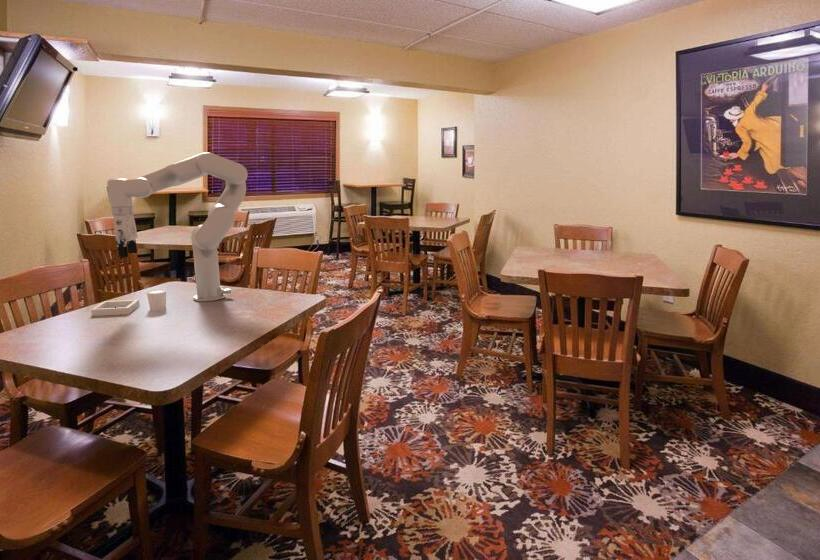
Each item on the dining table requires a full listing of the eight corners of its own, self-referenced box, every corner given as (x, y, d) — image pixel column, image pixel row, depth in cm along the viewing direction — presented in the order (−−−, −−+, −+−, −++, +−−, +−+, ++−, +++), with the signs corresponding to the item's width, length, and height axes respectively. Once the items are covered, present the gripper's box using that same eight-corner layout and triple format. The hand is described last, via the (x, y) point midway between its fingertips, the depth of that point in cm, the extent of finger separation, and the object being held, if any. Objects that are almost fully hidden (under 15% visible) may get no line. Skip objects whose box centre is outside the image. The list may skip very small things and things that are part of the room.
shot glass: (171, 307, 197) (169, 290, 196) (154, 311, 191) (152, 294, 190) (161, 305, 201) (159, 288, 199) (144, 309, 195) (142, 292, 194)
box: (139, 305, 200) (138, 299, 200) (129, 314, 188) (128, 307, 188) (104, 307, 198) (103, 301, 197) (91, 316, 186) (91, 309, 185)
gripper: (124, 212, 183) (130, 258, 187) (140, 209, 200) (146, 251, 203) (102, 213, 182) (109, 259, 185) (120, 209, 198) (126, 251, 202)
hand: (128, 254), depth 194 cm, fingers open, 9 cm apart
